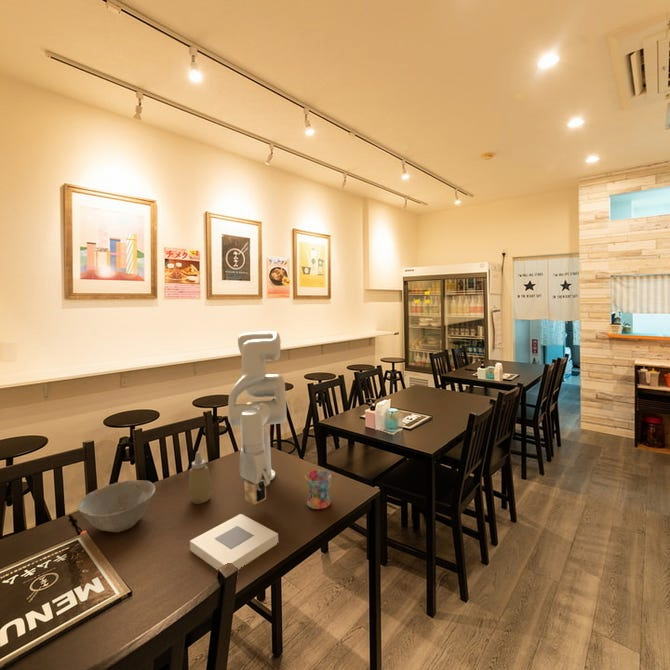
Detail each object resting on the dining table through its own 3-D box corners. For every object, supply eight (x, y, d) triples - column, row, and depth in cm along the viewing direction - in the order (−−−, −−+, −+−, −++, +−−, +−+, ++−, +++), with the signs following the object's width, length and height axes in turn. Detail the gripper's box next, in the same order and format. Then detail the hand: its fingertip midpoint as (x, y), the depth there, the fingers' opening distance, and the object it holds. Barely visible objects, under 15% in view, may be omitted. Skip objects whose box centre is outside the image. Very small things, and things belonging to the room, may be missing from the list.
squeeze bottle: (215, 494, 147) (213, 448, 145) (206, 506, 139) (203, 457, 137) (195, 494, 147) (192, 448, 146) (185, 505, 139) (181, 456, 138)
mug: (318, 514, 131) (317, 484, 130) (300, 505, 138) (299, 476, 137) (342, 501, 140) (342, 472, 139) (324, 492, 146) (323, 465, 145)
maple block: (245, 500, 134) (244, 480, 133) (256, 493, 138) (255, 475, 137) (254, 505, 131) (253, 485, 130) (266, 498, 135) (265, 479, 134)
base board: (190, 550, 114) (189, 540, 114) (241, 522, 128) (240, 513, 127) (226, 577, 102) (226, 565, 102) (278, 543, 116) (278, 533, 116)
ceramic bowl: (80, 556, 113) (77, 523, 112) (80, 520, 132) (77, 491, 131) (163, 529, 125) (161, 499, 124) (151, 500, 144) (149, 474, 143)
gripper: (228, 444, 134) (231, 493, 137) (260, 457, 124) (263, 510, 126) (246, 437, 140) (248, 485, 143) (278, 449, 129) (280, 500, 132)
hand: (255, 496), depth 134 cm, fingers closed on maple block, 5 cm apart
